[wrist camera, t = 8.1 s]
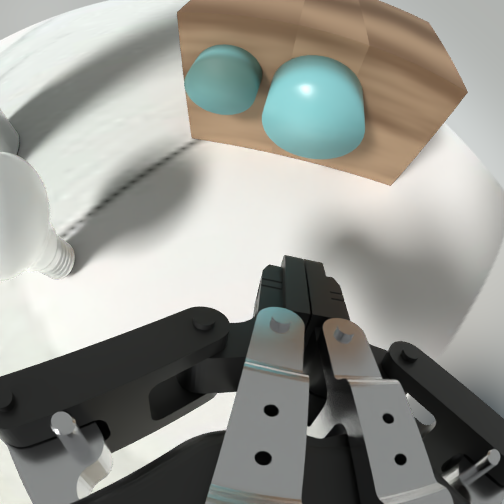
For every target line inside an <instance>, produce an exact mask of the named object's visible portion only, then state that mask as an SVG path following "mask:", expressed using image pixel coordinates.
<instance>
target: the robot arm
mask: <svg viewBox="0 0 504 504" xmlns="http://www.w3.org/2000/svg"><path fill="white" fill-rule="evenodd" d="M18 148H19V135H18V133H17V131H16V130H15V129H14V127H13V126H12V125H11V123H10V122H9V121H8V119H7V118H6V116H5V115H4V114H3V112H2V111H1V109H0V152H8V153H12V154H15V155H17V151H18ZM224 392H237V393H236V397H235V401H234V404H233V408H232V412H231V415H230V419H229V422H228V426H227V430H222V431H215V432H210V433H205V434H202V435H199V436H196V437H193V438H191V439H189V440H187V441H185V442H183V443H182V444H180V445H178V446H177V447H175V448H173V449H172V450H170V451H169V452H167V453H165V454H164V455H162V456H161V457H159V458H157V459H156V460H154V461H152V462H151V463H149V464H147V465H145V466H144V467H142V468H140V469H138V470H137V471H135V472H133V473H131V474H130V475H128V476H126V477H124V478H122V479H120V480H118V481H116V482H115V483H113V484H111V485H109V486H107V487H105V488H103V489H101V490H99V491H97V492H95V493H92V494H91V492H92V489H93V488H94V486H95V485H96V484H97V483H98V482H99V481H101V480H102V479H104V478H105V477H106V476H107V475H108V474H109V473H110V471H111V469H112V465H113V457H112V454H111V453H113V452H115V451H117V450H119V449H121V448H123V447H125V446H127V445H129V444H132V443H134V442H136V441H138V440H139V439H141V438H143V437H145V436H147V435H149V434H151V433H153V432H155V431H157V430H159V429H160V428H162V427H164V426H166V425H168V424H170V423H171V422H173V421H175V420H177V419H179V418H180V417H182V416H184V415H186V414H187V413H189V412H191V411H192V410H194V409H196V408H198V407H199V406H201V405H203V404H204V403H206V402H208V401H209V400H211V399H212V398H214V396H215V395H216V394H217V393H224ZM407 393H409V394H410V395H411V396H412V397H413V398H415V400H417V401H418V402H419V403H420V404H421V405H422V406H424V407H425V408H426V409H427V410H428V411H429V412H430V413H431V414H433V415H434V417H435V419H436V421H435V422H434V423H433V424H432V425H424V424H422V423H421V422H419V421H418V420H417V419H416V418H415V417H414V416H413V413H412V411H411V408H410V406H409V403H408V400H407V398H406V394H407ZM0 438H1V440H2V441H3V442H4V443H5V444H6V445H7V446H8V449H9V451H10V454H11V456H12V459H13V461H14V464H15V466H16V469H17V471H18V473H19V476H20V478H21V480H22V482H23V485H24V487H25V489H26V491H27V493H28V495H29V497H30V499H31V501H32V503H33V504H501V503H502V501H503V499H504V419H503V418H502V417H501V416H500V415H498V414H497V413H496V412H495V411H494V410H493V409H491V408H490V407H489V406H488V405H487V404H485V403H484V402H483V401H482V400H481V399H479V398H478V397H477V396H476V395H475V394H474V393H472V392H471V391H470V390H469V389H467V388H466V387H465V386H464V385H463V384H462V383H460V382H459V381H458V380H457V379H456V378H454V377H453V376H452V375H451V374H449V373H448V372H447V371H445V370H444V369H443V368H442V367H441V366H440V365H438V364H437V363H436V362H435V361H433V360H432V359H431V358H430V357H429V356H427V355H426V354H425V353H424V352H422V351H421V350H420V349H419V348H417V347H416V346H414V345H412V344H410V343H407V342H403V341H398V342H394V343H393V344H392V345H391V346H390V348H389V349H388V351H386V350H383V349H381V348H378V347H375V346H373V345H370V344H369V343H368V341H367V338H366V336H365V334H364V332H363V330H362V329H361V328H360V327H359V326H358V325H356V324H355V323H353V322H351V321H350V318H349V315H348V311H347V308H346V304H345V302H344V298H343V295H342V291H341V288H340V285H339V284H338V283H337V282H336V281H335V280H334V279H333V278H332V277H327V276H326V275H325V271H324V267H323V263H320V262H315V261H311V260H306V259H304V260H303V259H301V258H296V257H292V256H287V255H284V257H283V260H282V264H281V267H278V266H274V265H268V266H267V267H266V268H265V269H264V270H263V272H262V276H261V280H260V284H259V289H258V293H257V297H256V301H255V307H254V314H253V318H252V319H250V320H248V321H246V322H241V323H229V321H228V319H227V318H226V316H225V315H224V314H222V313H221V312H219V311H217V310H215V309H212V308H208V307H192V308H189V309H186V310H184V311H181V312H178V313H176V314H173V315H171V316H168V317H166V318H163V319H160V320H158V321H155V322H153V323H150V324H147V325H145V326H142V327H140V328H137V329H134V330H132V331H129V332H126V333H124V334H121V335H118V336H116V337H113V338H110V339H108V340H105V341H102V342H99V343H97V344H94V345H91V346H88V347H86V348H83V349H80V350H77V351H74V352H72V353H69V354H66V355H63V356H60V357H57V358H55V359H52V360H49V361H46V362H43V363H40V364H37V365H34V366H31V367H28V368H25V369H22V370H19V371H16V372H13V373H10V374H7V375H4V376H1V377H0Z"/></svg>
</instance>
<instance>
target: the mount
mask: <svg viewBox="0 0 504 504" xmlns="http://www.w3.org/2000/svg"><path fill="white" fill-rule="evenodd" d="M177 18H178V29H179V39H180V49H181V58H182V67H183V75H184V86H185V91H186V99H187V107H188V114H189V122H190V129H191V136H192V138H194V139H200V140H207V141H213V142H219V143H224V144H230V145H235V146H240V147H246V148H251V149H255V150H260V151H265V152H270V153H274V154H279V155H283V156H287V157H292V158H296V159H300V160H304V161H308V162H312V163H316V164H319V165H323V166H327V167H331V168H334V169H338V170H341V171H345V172H348V173H352V174H355V175H358V176H362V177H365V178H368V179H371V180H374V181H378V182H381V183H384V184H387V185H390V186H391V185H392V184H393V182H394V181H395V180H396V179H397V178H398V177H399V176H400V174H401V173H402V172H403V171H404V170H405V169H406V168H407V166H408V165H409V164H410V163H411V162H412V161H413V159H414V158H415V157H416V156H417V155H418V154H419V152H420V151H421V150H422V149H423V148H424V146H425V145H426V144H427V143H428V142H429V140H430V139H431V138H432V137H433V136H434V134H435V133H436V132H437V131H438V129H439V128H440V127H441V126H442V124H443V123H444V122H445V121H446V119H447V118H448V117H449V116H450V114H451V113H452V112H453V111H454V109H455V108H456V107H457V106H458V104H459V103H460V102H461V100H462V99H463V98H464V96H465V95H466V94H467V93H468V92H467V90H466V87H465V85H464V83H463V81H462V79H461V77H460V75H459V73H458V71H457V69H456V67H455V65H454V64H453V62H452V60H451V58H450V56H449V55H448V53H447V51H446V49H445V48H444V46H443V44H442V43H441V41H440V40H439V38H438V36H437V35H436V33H435V31H434V30H433V28H432V27H431V25H430V24H429V23H428V22H427V21H424V20H423V19H420V18H418V17H416V16H414V15H412V14H410V13H408V12H405V11H403V10H401V9H398V8H396V7H394V6H391V5H389V4H386V3H384V2H381V1H379V0H190V1H189V2H188V3H187V4H186V5H185V6H183V7H182V8H181V9H180V10H179V11H178V12H177ZM306 55H318V56H324V57H329V58H332V59H335V60H337V61H339V62H341V63H342V64H344V65H346V66H347V67H348V68H349V69H351V70H352V71H353V72H354V73H355V75H356V76H357V78H358V79H359V81H360V83H361V86H362V91H363V102H364V118H365V133H364V137H363V139H362V141H361V143H360V144H359V146H358V147H357V148H356V149H354V150H353V151H352V152H350V153H348V154H346V155H343V156H341V157H337V158H332V159H310V158H305V157H301V156H297V155H294V154H292V153H289V152H287V151H285V150H284V149H282V148H280V147H279V146H277V145H276V144H275V143H274V142H273V141H272V140H271V139H270V138H269V137H268V135H267V134H266V132H265V130H264V128H263V125H262V113H263V110H264V106H265V103H266V99H267V96H268V92H269V89H270V86H271V82H272V79H273V76H274V74H275V72H276V71H277V69H278V68H279V67H280V66H281V65H283V64H284V63H285V62H287V61H289V60H291V59H293V58H296V57H300V56H306Z"/></svg>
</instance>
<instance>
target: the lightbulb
mask: <svg viewBox="0 0 504 504" xmlns="http://www.w3.org/2000/svg"><path fill="white" fill-rule="evenodd" d="M74 261H75V254H74V250H73V248H72V247H71V245H70V244H68V243H67V242H66V241H65V240H63V239H62V238H61V237H59V236H58V235H57V234H56V231H55V229H54V227H53V225H52V224H51V222H50V204H49V198H48V194H47V191H46V188H45V185H44V183H43V181H42V179H41V177H40V175H39V174H38V172H37V171H36V170H35V168H34V167H33V166H32V165H31V164H30V163H28V162H27V161H26V160H25V159H23V158H21V157H19V156H17V155H15V154H12V153H8V152H0V282H4V281H8V280H11V279H13V278H15V277H17V276H19V275H21V274H22V273H24V272H25V271H26V272H40V273H42V274H44V275H46V276H48V277H50V278H52V279H55V280H59V279H62V278H64V277H66V276H67V275H68V274H69V273H70V271H71V270H72V268H73V265H74Z"/></svg>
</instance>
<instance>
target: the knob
mask: <svg viewBox="0 0 504 504" xmlns="http://www.w3.org/2000/svg"><path fill="white" fill-rule="evenodd" d="M262 125H263V128H264V130H265V132H266V134H267V135H268V137H269V138H270V139H271V140H272V141H273V142H274V143H275V144H276V145H277V146H279V147H280V148H282V149H284V150H285V151H287V152H289V153H292V154H294V155H297V156H301V157H305V158H310V159H332V158H337V157H341V156H343V155H346V154H348V153H350V152H352V151H353V150H354V149H356V148H357V147H358V146H359V144H360V143H361V141H362V139H363V137H364V133H365V118H364V102H363V91H362V86H361V83H360V81H359V79H358V78H357V76H356V75H355V73H354V72H353V71H352V70H351V69H349V68H348V67H347V66H346V65H344V64H342V63H341V62H339V61H337V60H335V59H332V58H329V57H324V56H318V55H306V56H300V57H296V58H293V59H291V60H289V61H287V62H285V63H284V64H283V65H281V66H280V67H279V68H278V69H277V71H276V72H275V74H274V76H273V79H272V82H271V86H270V89H269V92H268V96H267V99H266V103H265V106H264V110H263V113H262Z"/></svg>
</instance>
